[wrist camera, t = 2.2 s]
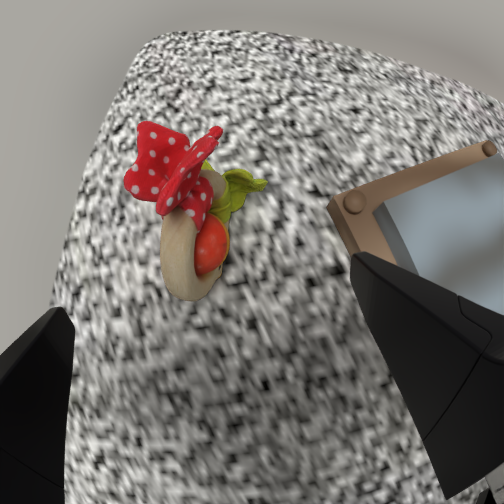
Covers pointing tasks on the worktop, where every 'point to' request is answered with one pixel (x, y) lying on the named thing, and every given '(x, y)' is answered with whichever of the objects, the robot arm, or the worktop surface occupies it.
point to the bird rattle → (188, 204)
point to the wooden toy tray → (435, 222)
